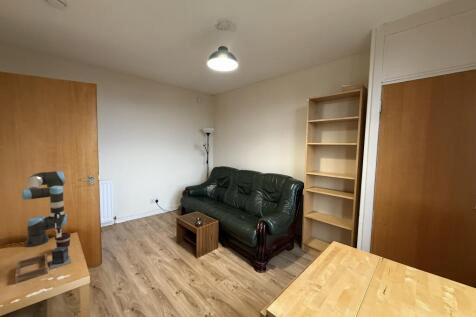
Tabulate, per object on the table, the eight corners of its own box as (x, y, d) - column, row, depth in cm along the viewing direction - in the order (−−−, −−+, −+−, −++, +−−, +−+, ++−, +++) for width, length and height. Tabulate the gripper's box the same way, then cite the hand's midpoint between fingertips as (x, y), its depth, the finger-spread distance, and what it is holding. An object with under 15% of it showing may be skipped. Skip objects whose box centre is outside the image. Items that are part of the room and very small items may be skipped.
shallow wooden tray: (18, 267, 149) (17, 261, 148) (47, 259, 159) (46, 253, 159) (15, 283, 133) (15, 276, 132) (47, 273, 143) (47, 267, 143)
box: (68, 259, 160) (68, 246, 159) (63, 263, 154) (63, 250, 154) (57, 259, 159) (56, 246, 158) (52, 264, 153) (51, 250, 152)
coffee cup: (53, 252, 170) (52, 235, 169) (67, 247, 179) (67, 230, 177) (59, 255, 165) (58, 238, 164) (73, 250, 174) (72, 233, 173)
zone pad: (49, 262, 156) (49, 261, 156) (69, 256, 165) (69, 255, 165) (50, 269, 148) (50, 268, 148) (71, 263, 156) (71, 262, 156)
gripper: (49, 203, 159) (50, 229, 161) (51, 212, 141) (52, 241, 143) (62, 201, 164) (63, 227, 166) (65, 210, 147) (66, 238, 148)
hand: (58, 233), depth 155 cm, fingers open, 13 cm apart
